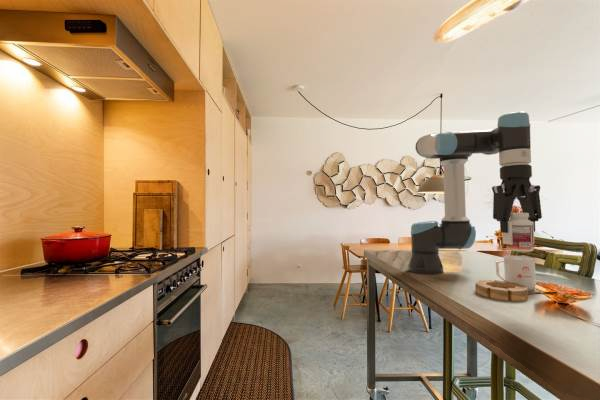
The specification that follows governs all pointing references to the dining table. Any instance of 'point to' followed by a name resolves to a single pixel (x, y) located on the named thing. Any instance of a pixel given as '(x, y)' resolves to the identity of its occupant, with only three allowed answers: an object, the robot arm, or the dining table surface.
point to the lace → (534, 292)
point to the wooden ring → (501, 290)
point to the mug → (519, 271)
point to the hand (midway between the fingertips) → (518, 243)
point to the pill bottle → (521, 233)
